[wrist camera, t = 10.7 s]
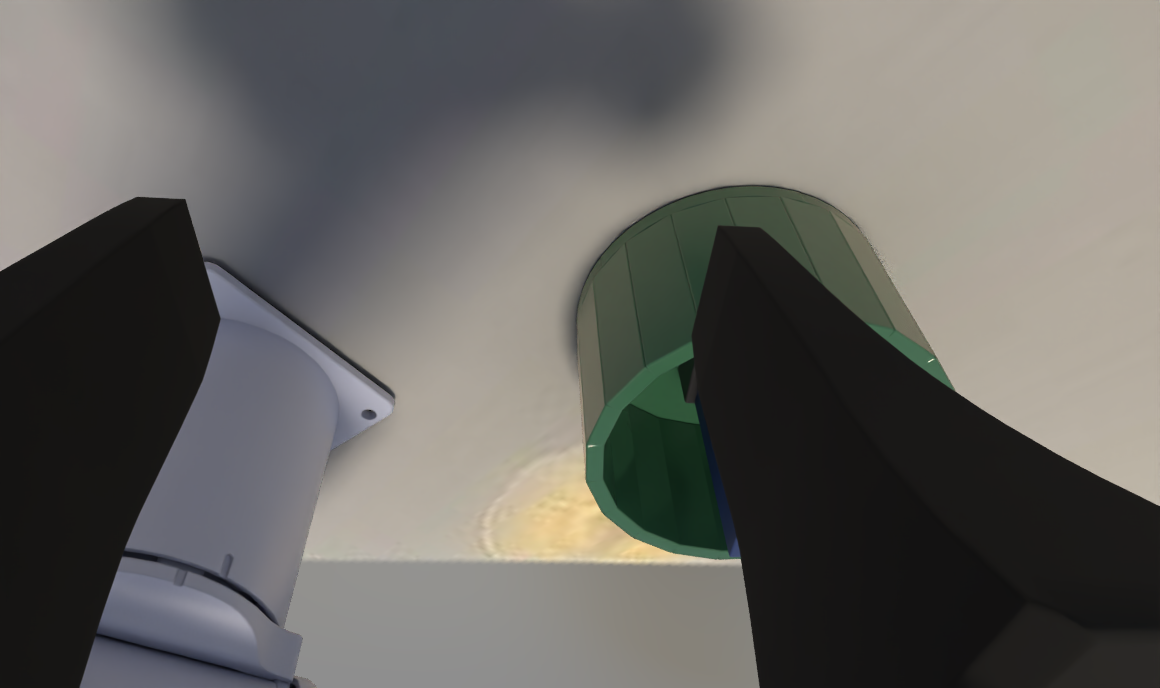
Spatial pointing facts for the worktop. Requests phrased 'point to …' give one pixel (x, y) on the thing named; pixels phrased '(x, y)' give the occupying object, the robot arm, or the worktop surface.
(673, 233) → the cup
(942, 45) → the worktop surface
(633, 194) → the worktop surface
